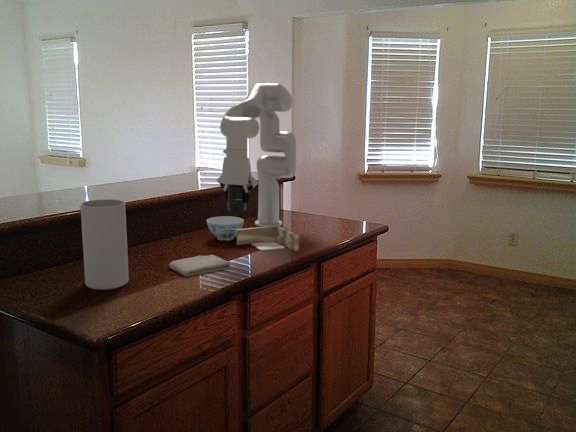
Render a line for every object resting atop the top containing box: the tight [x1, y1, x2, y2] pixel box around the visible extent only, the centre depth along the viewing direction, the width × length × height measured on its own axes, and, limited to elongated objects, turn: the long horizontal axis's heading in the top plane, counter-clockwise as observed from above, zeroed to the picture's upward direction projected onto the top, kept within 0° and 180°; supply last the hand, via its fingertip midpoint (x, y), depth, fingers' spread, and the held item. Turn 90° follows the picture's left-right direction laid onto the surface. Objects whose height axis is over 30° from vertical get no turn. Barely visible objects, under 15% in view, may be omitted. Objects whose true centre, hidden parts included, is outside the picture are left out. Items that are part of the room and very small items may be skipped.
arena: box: [236, 225, 300, 252], centre depth 204 cm, size 18×18×6 cm
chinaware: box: [206, 215, 245, 242], centre depth 215 cm, size 15×15×8 cm
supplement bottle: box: [227, 185, 247, 212], centre depth 194 cm, size 7×7×12 cm
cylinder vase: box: [80, 198, 129, 291], centre depth 158 cm, size 12×12×25 cm
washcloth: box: [168, 254, 231, 278], centre depth 178 cm, size 12×18×3 cm, turn 129°
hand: (237, 201), depth 194 cm, fingers closed on supplement bottle, 6 cm apart
